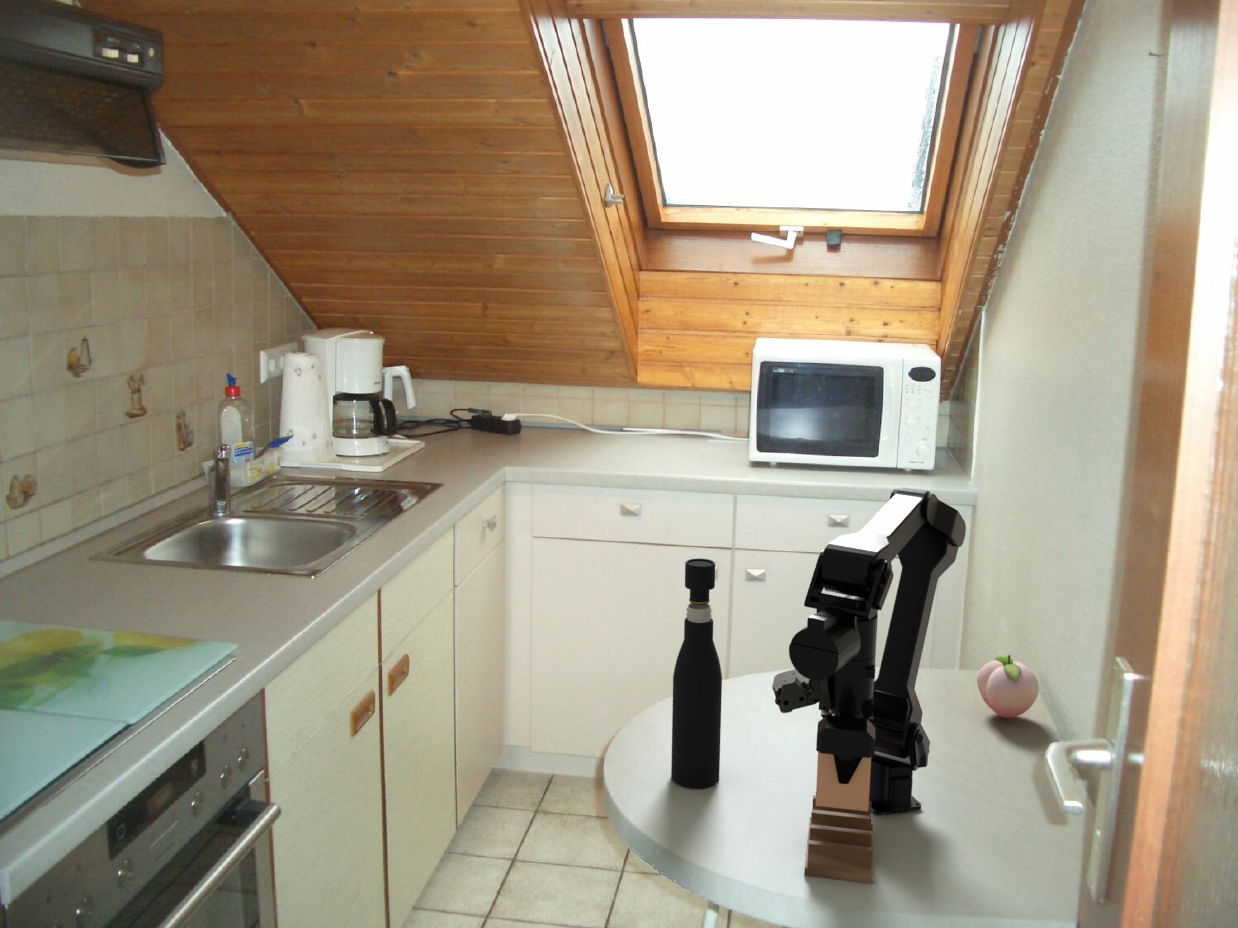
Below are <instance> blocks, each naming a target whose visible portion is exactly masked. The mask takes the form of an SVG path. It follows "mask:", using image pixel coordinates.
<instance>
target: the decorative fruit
mask: <svg viewBox="0 0 1238 928" xmlns="http://www.w3.org/2000/svg"><path fill="white" fill-rule="evenodd" d="M976 684H977V685H976V686H977V688H978V690H979V693H980V696H981V698H982V700H983V702H984V703H985V704H986V705H987V707H989V709H991V711H993V712H994V713H995V714H996V715H998V716H999V717H1000V718H1003V719H1010V718H1014V717H1018V716H1021V715H1023V714H1025V713H1026V712H1027V711H1029V709H1031V707H1032V706H1033V705H1035V704H1034V703H1035V702H1036V700H1037V699H1038V695H1039V692H1040V691H1039V690H1040V686H1039V681H1038V679H1037V677H1036V675H1035V673H1034V672H1033V671H1032V670H1031V669H1030V668H1029V667H1028V666H1027V665H1025V664H1023V663H1022V662H1019V661H1018V660H1017V661H1016V660H1013V659H1012V658H1011V654H1008V655H1007V656H1005V655H1003V656H1001V655H997V656H995V657H994V660H991V661H989V662H988V663H986V664H984V665H983V666H982V667H981V669H980V670H979V672H978V673H977V676H976Z"/></svg>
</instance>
